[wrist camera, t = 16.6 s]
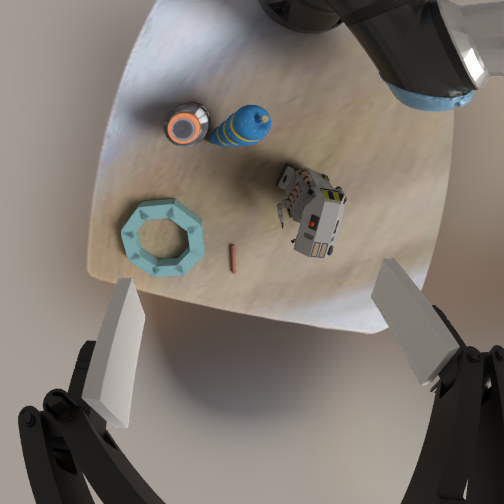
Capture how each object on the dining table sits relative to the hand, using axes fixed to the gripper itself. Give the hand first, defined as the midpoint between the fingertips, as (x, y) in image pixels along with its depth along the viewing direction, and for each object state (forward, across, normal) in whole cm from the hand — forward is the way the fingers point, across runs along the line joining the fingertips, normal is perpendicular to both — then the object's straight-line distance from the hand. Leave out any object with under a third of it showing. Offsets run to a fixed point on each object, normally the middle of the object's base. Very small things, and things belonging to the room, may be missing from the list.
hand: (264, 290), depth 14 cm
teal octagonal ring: (+35, -13, -16) cm, 40 cm away
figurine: (+35, +12, -9) cm, 38 cm away
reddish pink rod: (+35, 0, -22) cm, 41 cm away
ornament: (+34, -3, +1) cm, 35 cm away
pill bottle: (+35, -6, +5) cm, 36 cm away
